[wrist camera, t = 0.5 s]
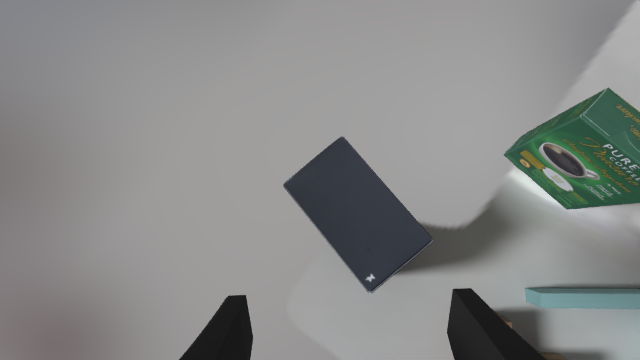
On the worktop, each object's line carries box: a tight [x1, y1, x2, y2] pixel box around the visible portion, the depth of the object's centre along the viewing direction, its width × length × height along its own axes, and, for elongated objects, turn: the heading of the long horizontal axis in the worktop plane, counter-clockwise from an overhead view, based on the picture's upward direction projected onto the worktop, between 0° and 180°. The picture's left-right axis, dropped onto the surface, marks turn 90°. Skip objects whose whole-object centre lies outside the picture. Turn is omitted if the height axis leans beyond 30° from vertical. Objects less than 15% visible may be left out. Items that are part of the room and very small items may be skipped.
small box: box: [283, 137, 433, 293], centre depth 32 cm, size 11×6×10 cm, turn 39°
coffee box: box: [504, 88, 640, 209], centre depth 29 cm, size 8×3×13 cm, turn 45°
